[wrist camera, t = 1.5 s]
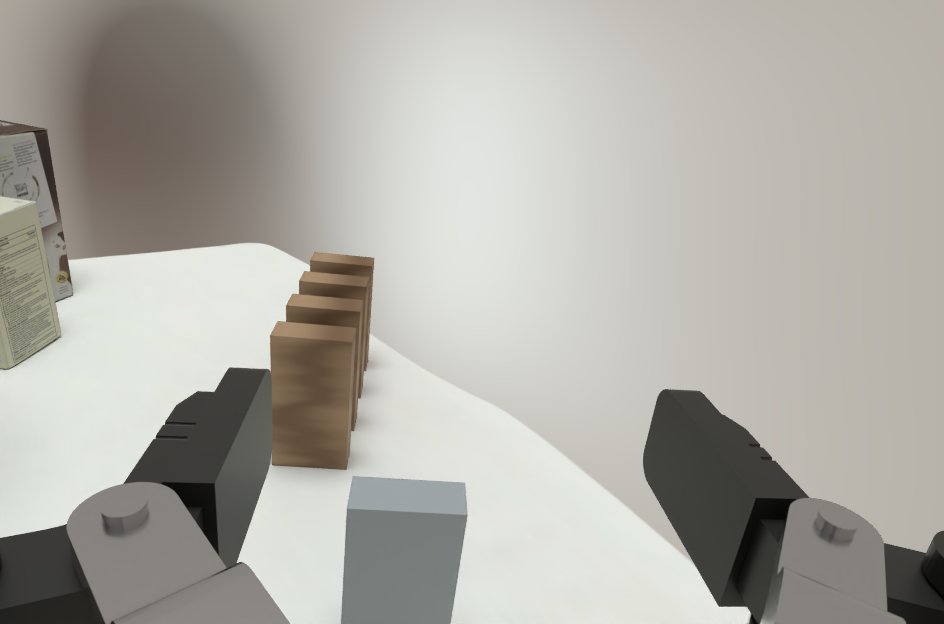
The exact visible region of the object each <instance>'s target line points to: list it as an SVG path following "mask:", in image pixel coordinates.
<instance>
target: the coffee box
mask: <svg viewBox="0 0 944 624" xmlns="http://www.w3.org/2000/svg"><path fill="white" fill-rule="evenodd" d="M0 196H2V197H8V198H15V199H22V200H28V201H35V202H36V204H37V209H38V215H39V220H40V225H41V231H42V236H43V241H44V246H45V251H46V257H47V262H48V267H49V273H50V278H51V283H52V288H53V293H54V298H55V301H57V300H60V299H63V298H65V297H68V296H71V295H72V294H73V289H72V283H71V277H70V271H69V265H68V259H67V252H66V246H65V241H64V235H63V229H62V222H61V216H60V209H59V203H58V197H57V191H56V185H55V178H54V172H53V166H52V160H51V153H50V147H49V141H48V135H47V129H44V128H38V127H33V126H28V125H23V124H17V123H12V122H7V121H1V120H0Z"/></svg>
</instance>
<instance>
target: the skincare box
mask: <svg viewBox="0 0 944 624" xmlns="http://www.w3.org/2000/svg"><path fill="white" fill-rule="evenodd" d="M60 335H61V330H60V324H59V319H58V314H57V309H56V304H55V298H54V293H53V288H52V283H51V278H50V273H49V267H48V262H47V257H46V251H45V246H44V241H43V236H42V231H41V225H40V220H39V215H38V209H37V204H36V202H35V201H28V200H22V199H15V198H8V197H2V196H0V368H3V369H9V368H11V367H13V366H14V365H16V364H18V363H19V362H21V361H23V360H24V359H26V358H27V357H29V356H30V355H32V354H33V353H35V352H36V351H38V350H39V349H41V348H42V347H44V346H46V345H47V344H48V343H50V342H52V341H53V340H54V339H56V338H57V337H59V336H60Z"/></svg>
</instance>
